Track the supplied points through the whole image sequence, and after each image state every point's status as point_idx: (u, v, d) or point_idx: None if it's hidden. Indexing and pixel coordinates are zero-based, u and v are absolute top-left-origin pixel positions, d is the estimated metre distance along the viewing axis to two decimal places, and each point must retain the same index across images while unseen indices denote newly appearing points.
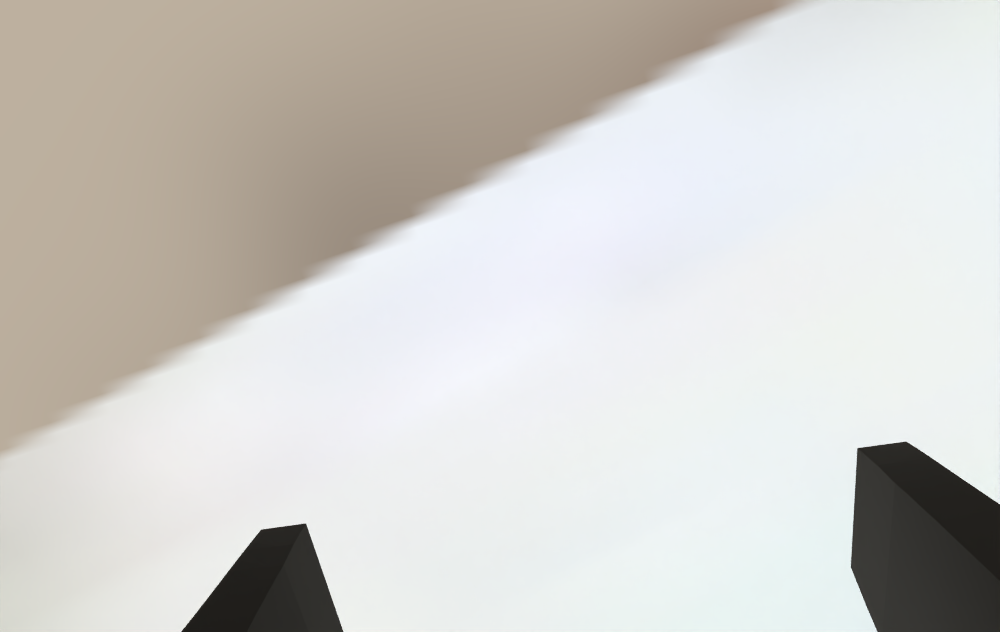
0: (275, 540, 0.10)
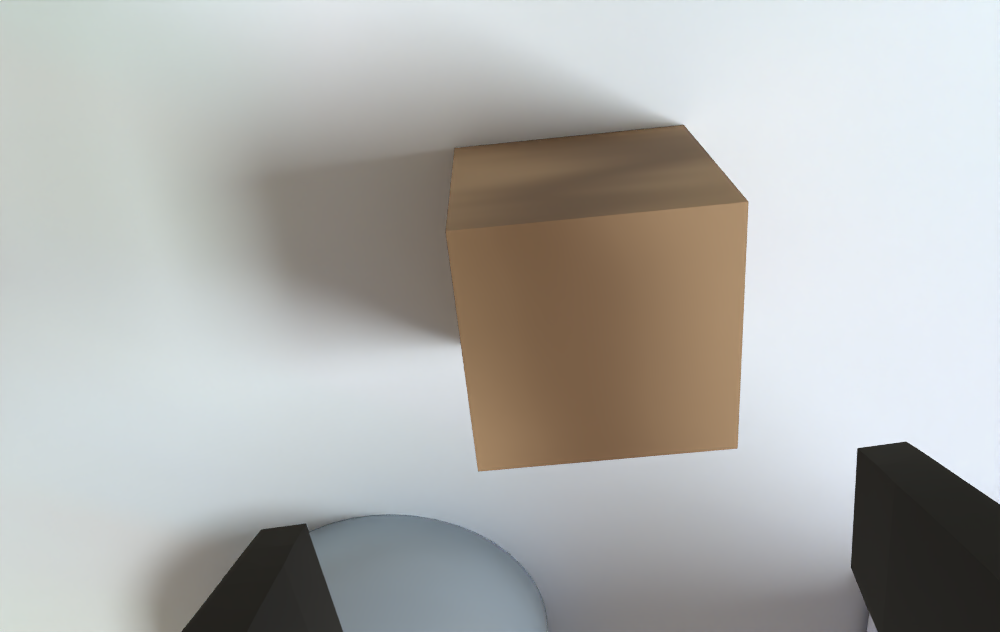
0: (275, 540, 0.10)
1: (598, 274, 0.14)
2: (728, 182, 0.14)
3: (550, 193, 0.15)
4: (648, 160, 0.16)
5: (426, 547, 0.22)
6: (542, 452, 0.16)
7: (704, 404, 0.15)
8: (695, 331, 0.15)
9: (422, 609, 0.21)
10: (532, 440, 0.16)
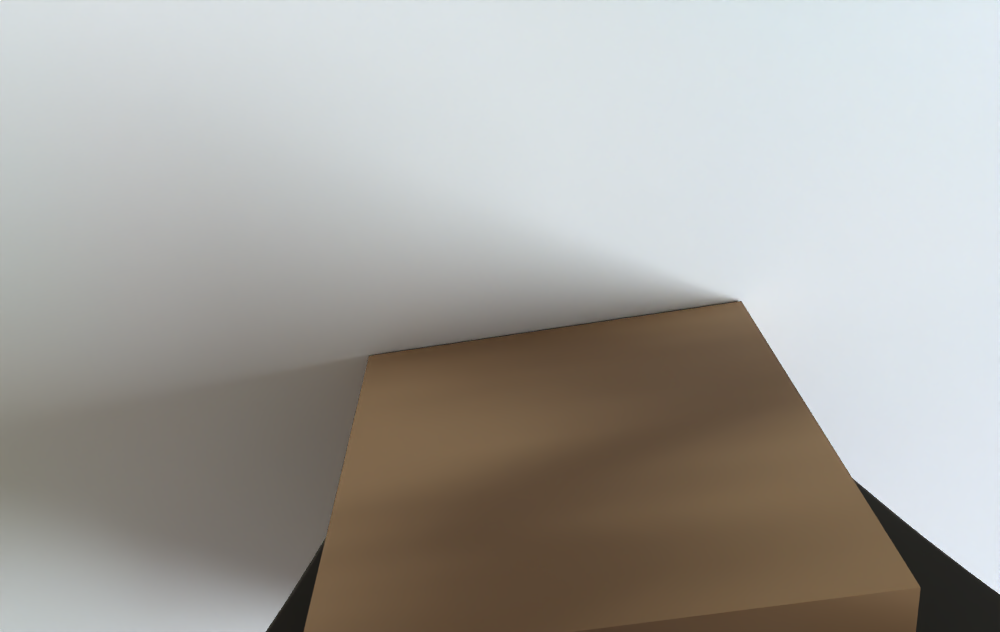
0: None
1: None
2: (859, 502, 0.07)
3: (513, 522, 0.08)
4: (692, 414, 0.09)
5: None
6: None
7: None
8: None
9: None
10: None
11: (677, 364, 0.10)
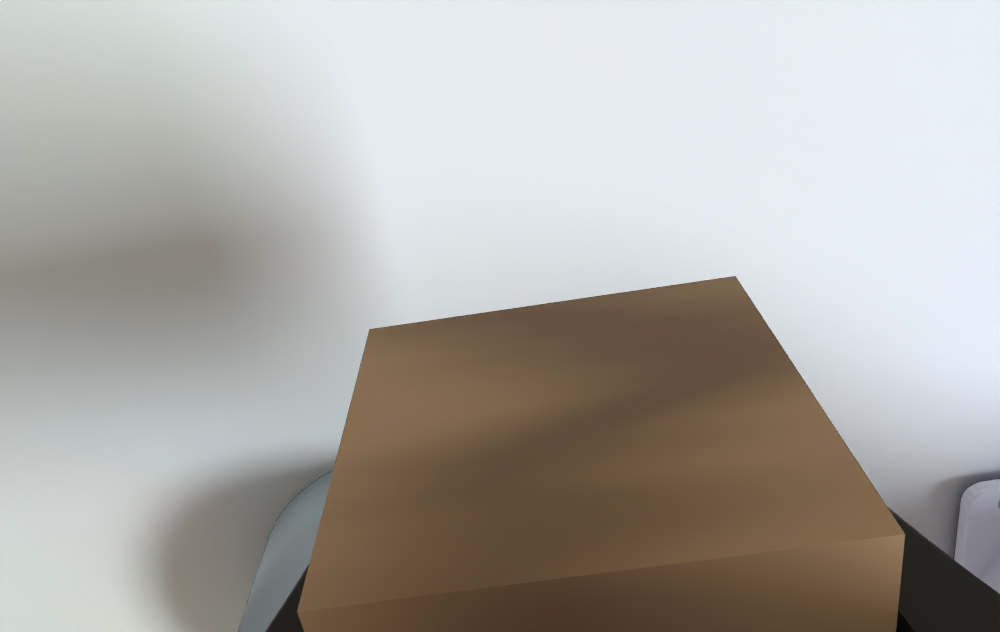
0: None
1: None
2: (846, 457, 0.08)
3: (511, 480, 0.08)
4: (686, 379, 0.09)
5: None
6: None
7: None
8: None
9: None
10: None
11: (671, 334, 0.10)
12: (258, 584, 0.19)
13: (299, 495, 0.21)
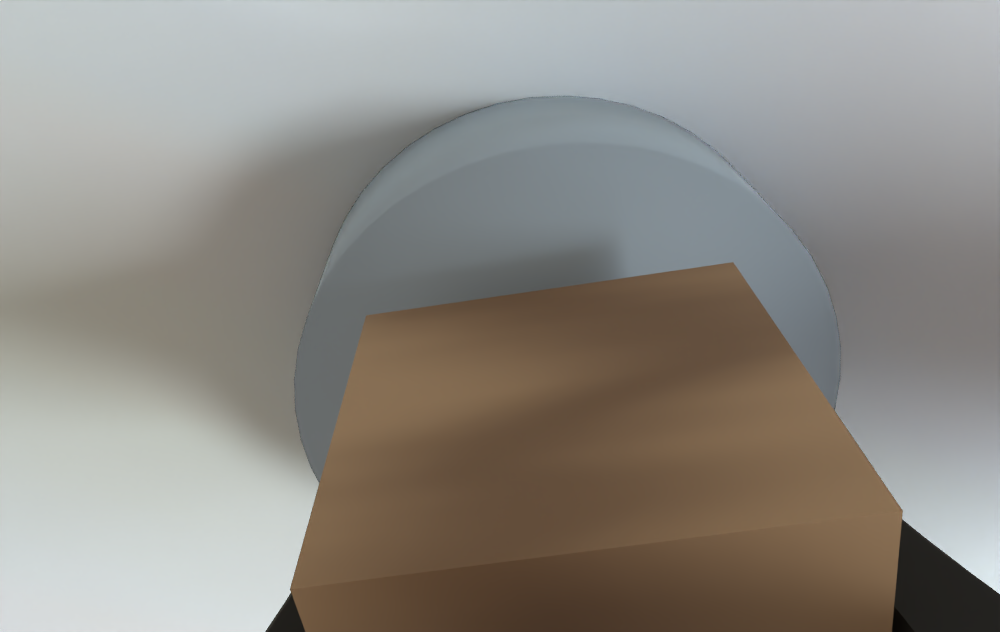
0: None
1: None
2: (844, 437, 0.07)
3: (506, 460, 0.08)
4: (683, 363, 0.09)
5: (598, 113, 0.13)
6: None
7: None
8: None
9: (617, 172, 0.12)
10: None
11: (669, 318, 0.10)
12: (330, 265, 0.13)
13: (377, 176, 0.15)
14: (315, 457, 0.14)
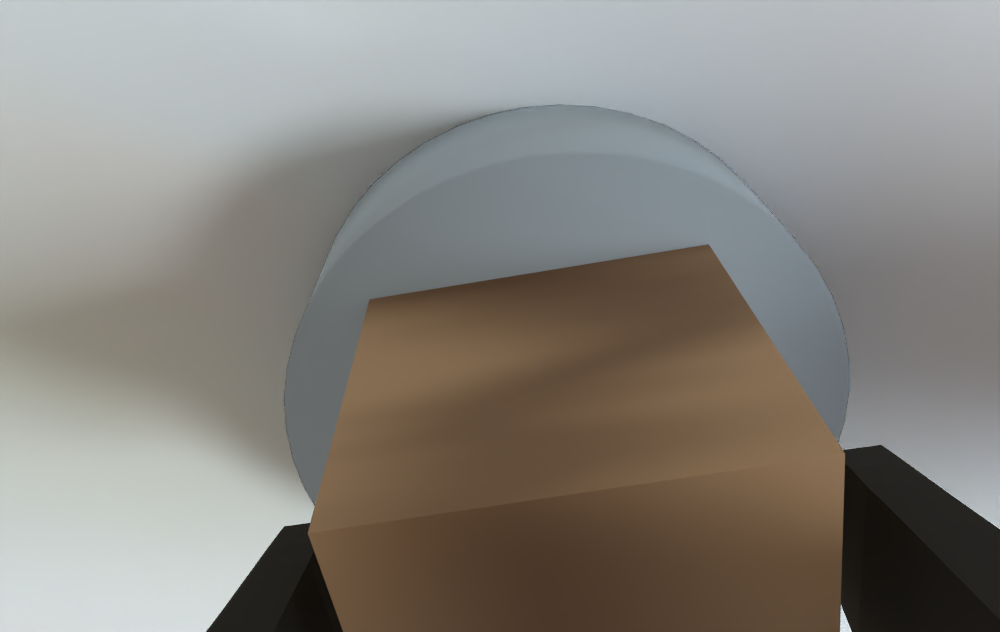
0: (299, 537, 0.10)
1: (584, 577, 0.08)
2: (798, 393, 0.08)
3: (498, 420, 0.09)
4: (658, 333, 0.10)
5: (591, 121, 0.13)
6: None
7: None
8: None
9: (609, 181, 0.11)
10: None
11: (648, 295, 0.11)
12: (318, 282, 0.13)
13: (369, 188, 0.14)
14: (307, 478, 0.14)
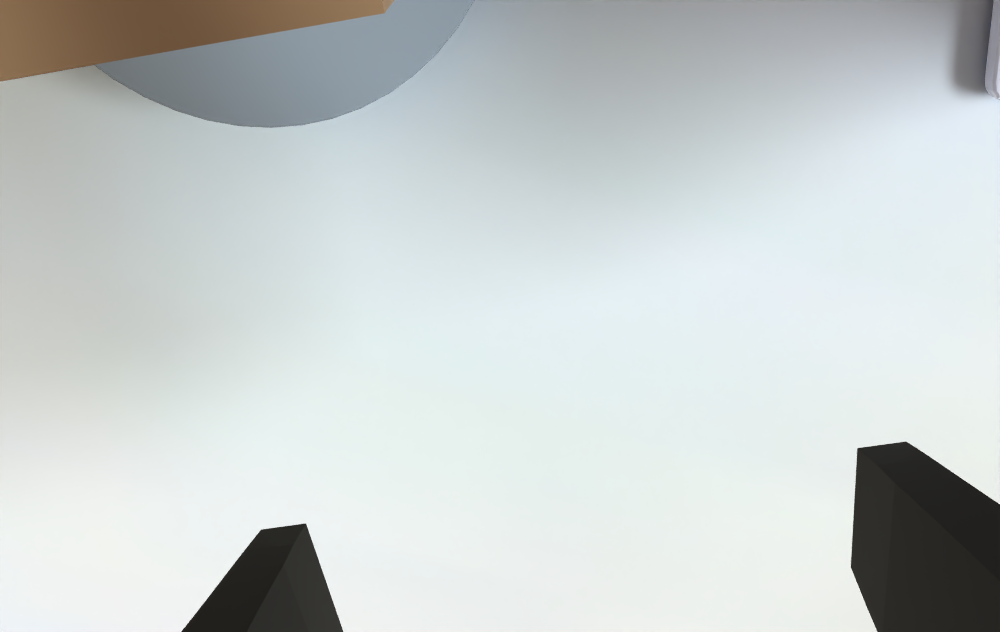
0: (275, 540, 0.10)
1: None
2: None
3: None
4: None
5: None
6: (76, 38, 0.10)
7: None
8: None
9: None
10: (54, 16, 0.10)
11: None
12: None
13: None
14: None
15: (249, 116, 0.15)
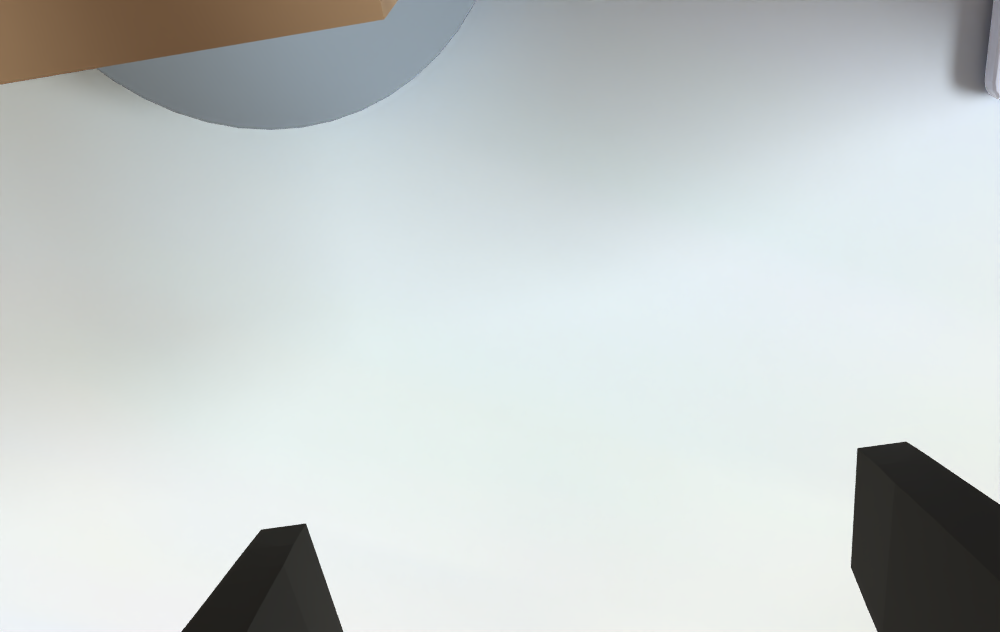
0: (275, 540, 0.10)
1: None
2: None
3: None
4: None
5: None
6: (77, 42, 0.10)
7: None
8: None
9: None
10: (55, 20, 0.10)
11: None
12: None
13: None
14: None
15: (249, 118, 0.15)
